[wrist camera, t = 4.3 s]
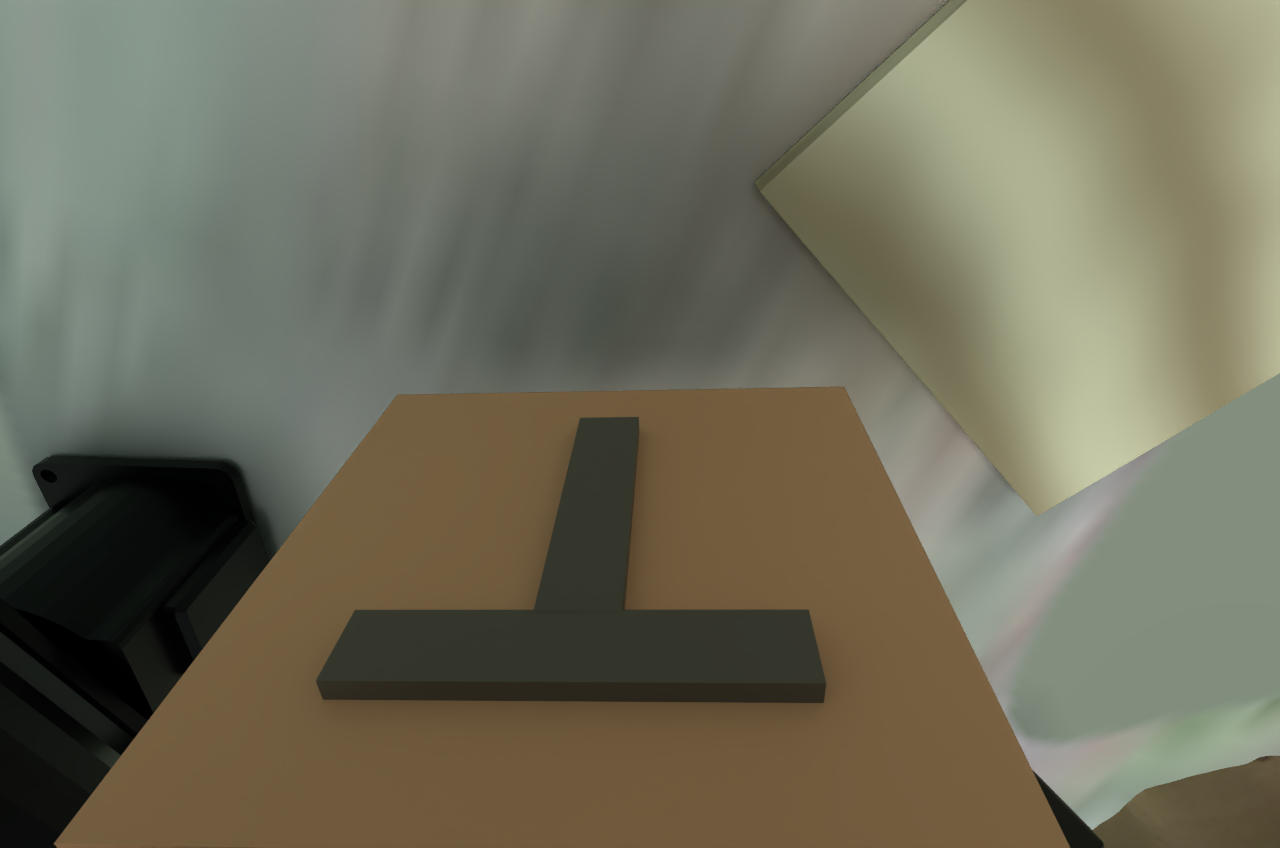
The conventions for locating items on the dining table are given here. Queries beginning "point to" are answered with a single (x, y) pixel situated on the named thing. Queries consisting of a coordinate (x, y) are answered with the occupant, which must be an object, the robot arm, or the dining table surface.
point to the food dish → (1203, 811)
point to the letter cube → (588, 649)
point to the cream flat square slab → (1060, 220)
